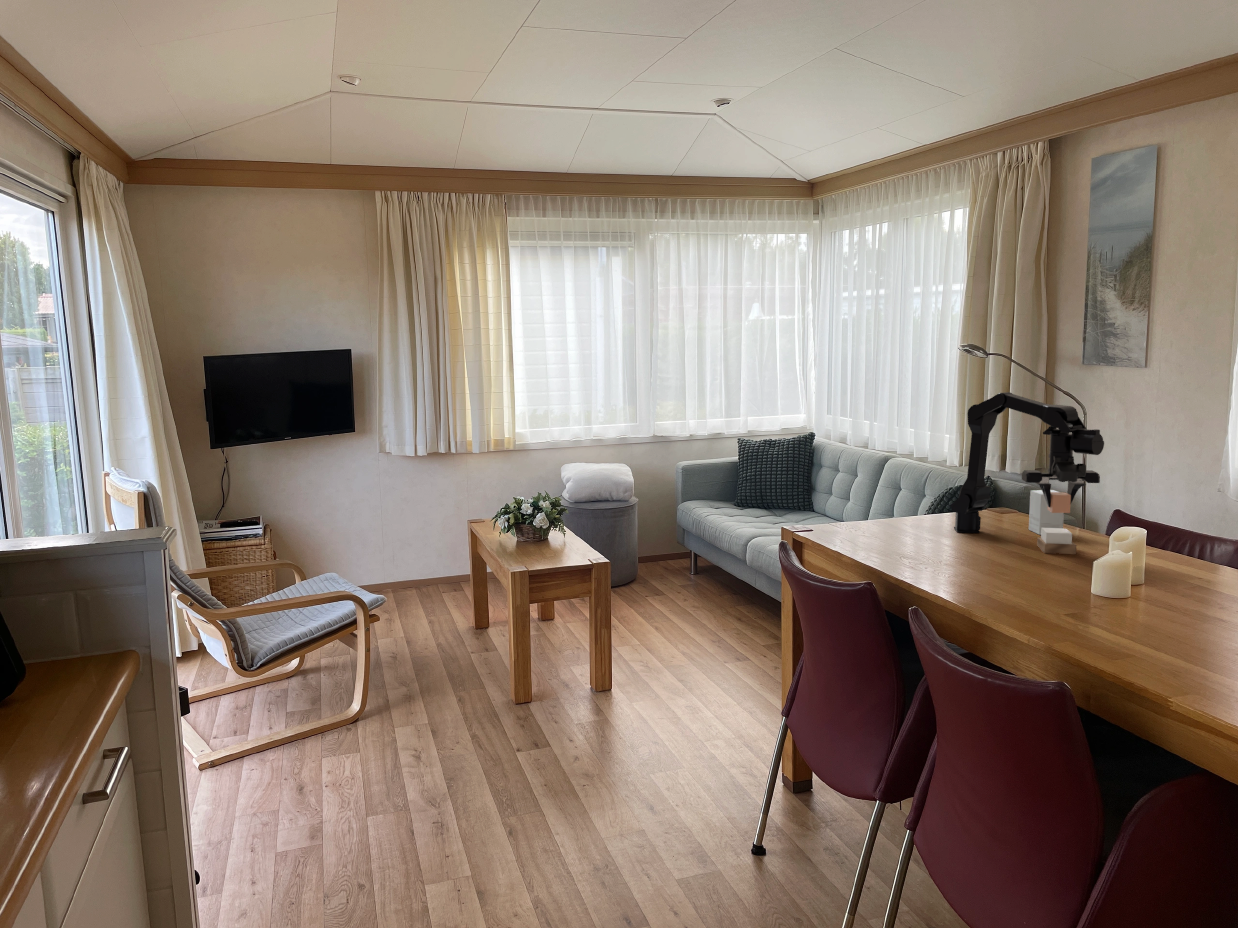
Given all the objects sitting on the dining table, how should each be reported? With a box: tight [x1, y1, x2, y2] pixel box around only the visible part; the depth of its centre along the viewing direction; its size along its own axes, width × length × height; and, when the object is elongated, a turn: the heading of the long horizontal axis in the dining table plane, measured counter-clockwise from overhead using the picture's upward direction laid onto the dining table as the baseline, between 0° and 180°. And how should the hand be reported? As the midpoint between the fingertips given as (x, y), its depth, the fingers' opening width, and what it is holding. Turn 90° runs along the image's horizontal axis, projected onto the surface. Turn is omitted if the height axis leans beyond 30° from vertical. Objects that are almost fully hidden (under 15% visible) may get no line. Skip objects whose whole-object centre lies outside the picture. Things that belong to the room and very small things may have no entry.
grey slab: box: [1040, 527, 1073, 544], centre depth 241 cm, size 6×6×3 cm
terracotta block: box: [1047, 491, 1072, 514], centre depth 240 cm, size 5×5×5 cm
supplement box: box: [1028, 489, 1065, 536], centre depth 262 cm, size 7×7×13 cm
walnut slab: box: [1036, 536, 1077, 555], centre depth 242 cm, size 8×8×3 cm
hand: (1058, 507), depth 240 cm, fingers closed on terracotta block, 5 cm apart
